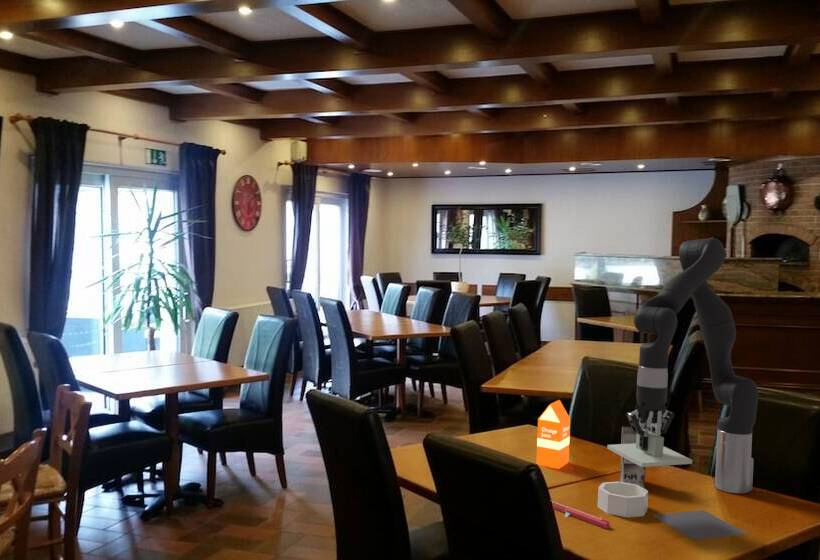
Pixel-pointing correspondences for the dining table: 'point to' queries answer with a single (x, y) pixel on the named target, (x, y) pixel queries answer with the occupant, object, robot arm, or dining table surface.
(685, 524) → the mat
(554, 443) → the orange juice
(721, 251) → the robot arm
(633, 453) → the cover
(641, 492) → the bowl
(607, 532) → the dining table surface
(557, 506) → the red piece
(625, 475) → the coffee box
